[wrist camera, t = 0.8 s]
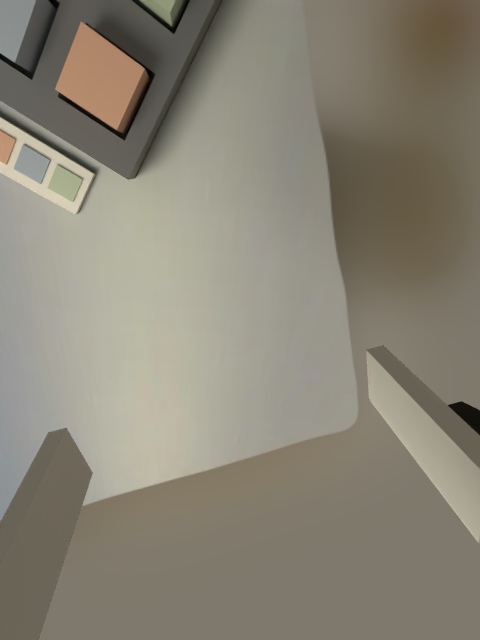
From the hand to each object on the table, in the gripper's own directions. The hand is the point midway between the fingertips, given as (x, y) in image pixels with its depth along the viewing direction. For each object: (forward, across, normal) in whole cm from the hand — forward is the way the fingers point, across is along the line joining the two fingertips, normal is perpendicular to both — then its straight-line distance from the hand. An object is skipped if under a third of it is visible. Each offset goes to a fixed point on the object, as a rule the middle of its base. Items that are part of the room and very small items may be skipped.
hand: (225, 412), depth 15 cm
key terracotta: (+20, -3, +16) cm, 26 cm away
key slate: (+21, -8, +21) cm, 31 cm away
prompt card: (+22, -12, +13) cm, 28 cm away
